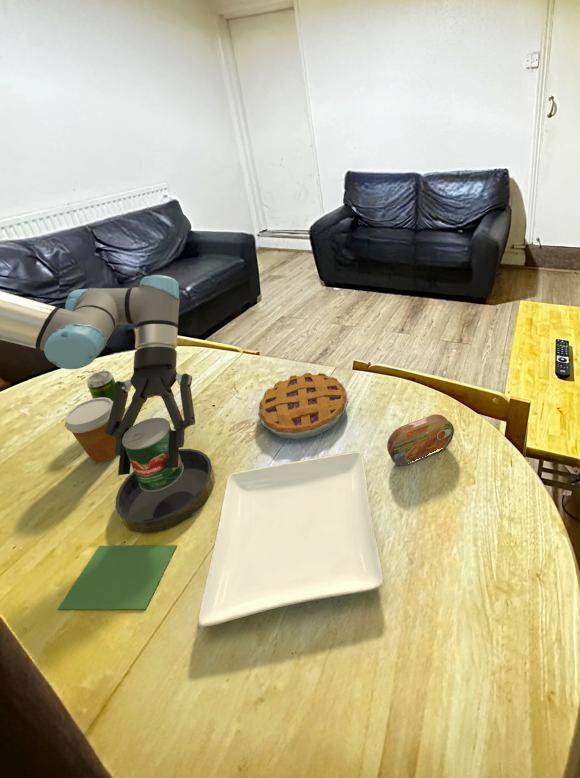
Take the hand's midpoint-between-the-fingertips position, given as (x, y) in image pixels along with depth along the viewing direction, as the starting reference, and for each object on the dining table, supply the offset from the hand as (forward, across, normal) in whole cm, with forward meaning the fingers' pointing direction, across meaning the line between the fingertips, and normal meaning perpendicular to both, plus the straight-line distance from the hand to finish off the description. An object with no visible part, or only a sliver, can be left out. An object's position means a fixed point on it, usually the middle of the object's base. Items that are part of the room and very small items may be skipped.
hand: (148, 470), depth 76 cm
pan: (+5, 0, -9) cm, 10 cm away
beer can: (-14, +21, -29) cm, 39 cm away
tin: (+4, -52, -9) cm, 53 cm away
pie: (-9, -27, -22) cm, 36 cm away
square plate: (+14, -26, 0) cm, 30 cm away
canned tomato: (+1, 0, -6) cm, 6 cm away
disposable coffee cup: (-5, +18, -20) cm, 27 cm away
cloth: (+16, +2, +2) cm, 16 cm away
